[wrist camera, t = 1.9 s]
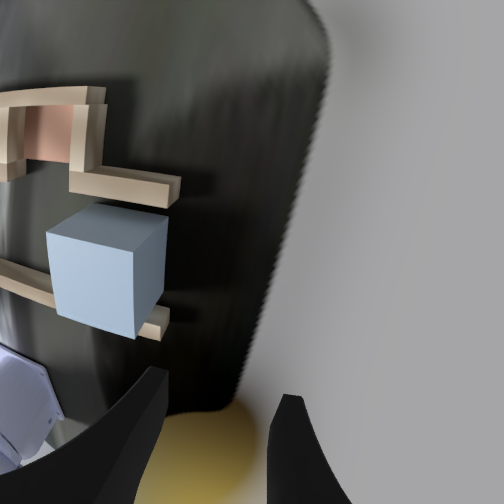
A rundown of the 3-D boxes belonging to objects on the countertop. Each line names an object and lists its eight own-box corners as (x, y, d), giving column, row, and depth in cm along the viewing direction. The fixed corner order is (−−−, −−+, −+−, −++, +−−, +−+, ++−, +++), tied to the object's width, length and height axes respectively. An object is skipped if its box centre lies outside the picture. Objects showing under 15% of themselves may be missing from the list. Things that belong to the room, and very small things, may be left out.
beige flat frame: (169, 322, 21) (155, 351, 18) (-50, 249, 21) (-69, 261, 18) (194, 92, 15) (176, 88, 12) (-59, 104, 15) (-83, 109, 12)
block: (164, 290, 20) (134, 339, 15) (96, 273, 20) (57, 314, 15) (168, 216, 18) (133, 252, 13) (94, 202, 18) (46, 232, 13)
